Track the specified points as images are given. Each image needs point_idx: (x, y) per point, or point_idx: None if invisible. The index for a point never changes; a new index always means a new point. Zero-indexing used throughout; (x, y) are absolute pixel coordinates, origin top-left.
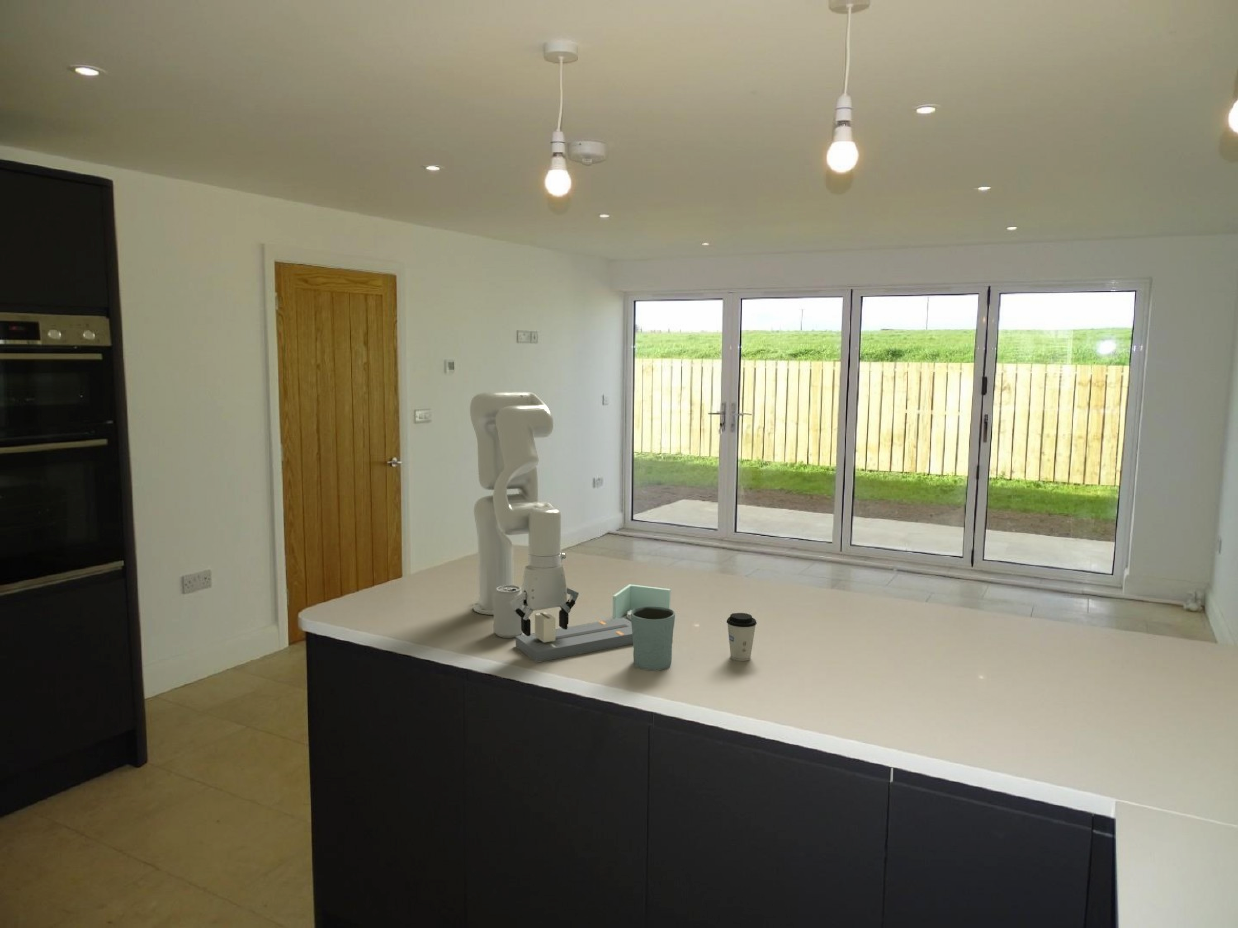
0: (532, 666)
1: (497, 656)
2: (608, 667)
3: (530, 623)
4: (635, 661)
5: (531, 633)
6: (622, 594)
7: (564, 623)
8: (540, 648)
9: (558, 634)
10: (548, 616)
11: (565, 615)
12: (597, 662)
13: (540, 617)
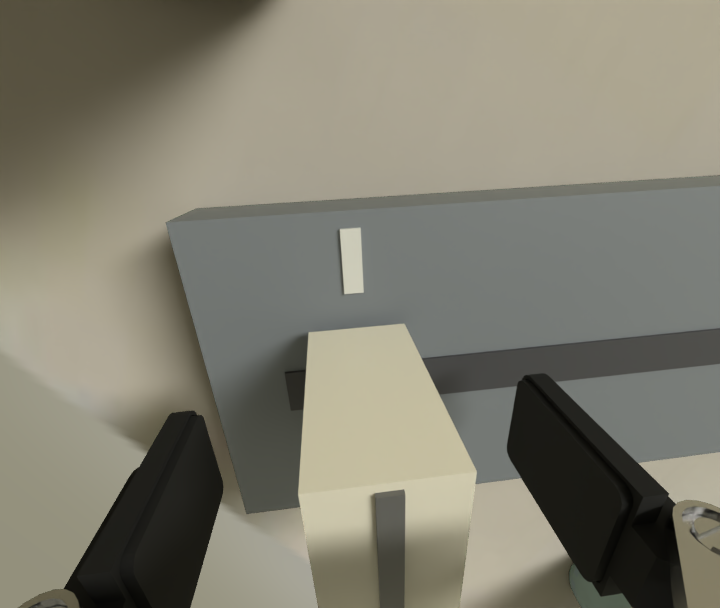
0: (227, 493)
1: (49, 334)
2: (491, 557)
3: (190, 602)
4: (580, 584)
5: (318, 214)
6: None
7: (531, 492)
8: (283, 482)
9: (490, 316)
10: (415, 591)
11: (586, 574)
12: (486, 519)
13: (318, 600)
